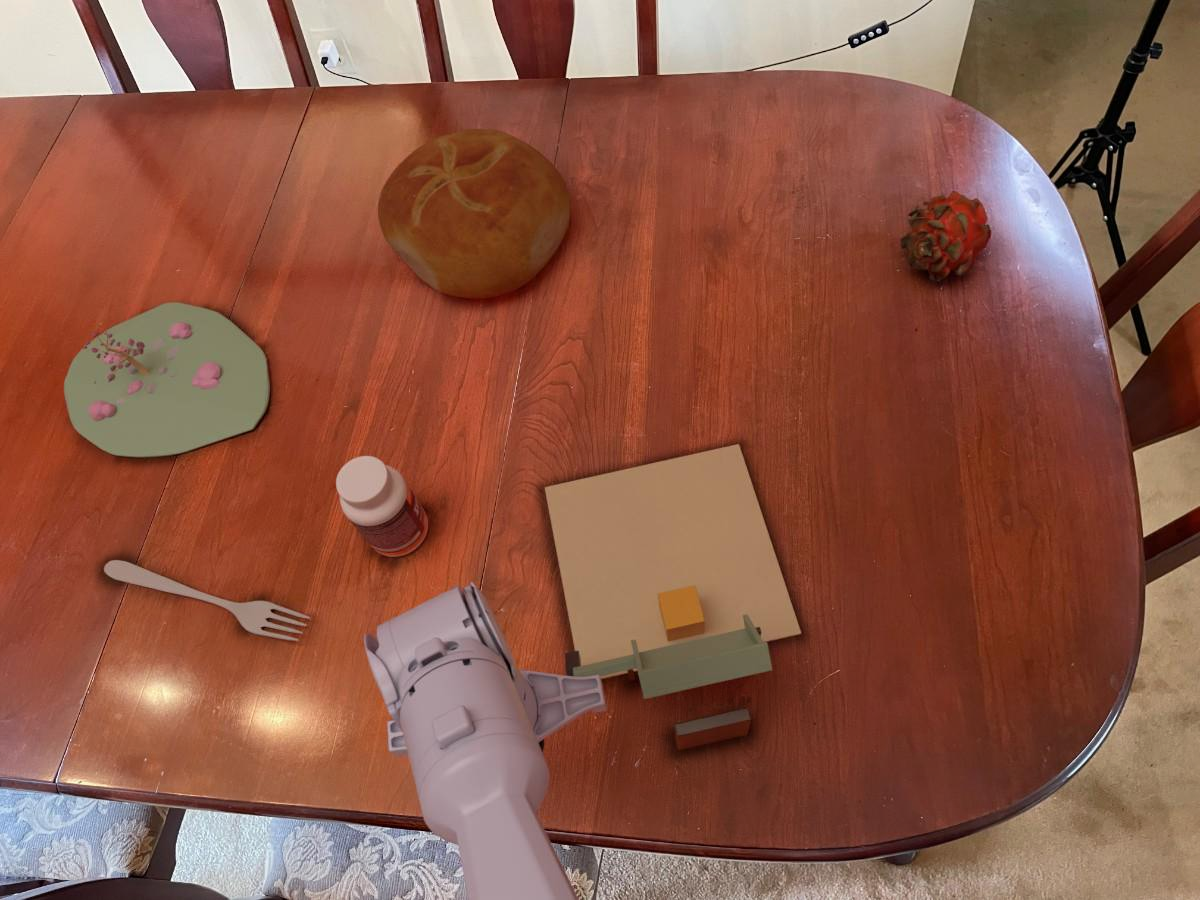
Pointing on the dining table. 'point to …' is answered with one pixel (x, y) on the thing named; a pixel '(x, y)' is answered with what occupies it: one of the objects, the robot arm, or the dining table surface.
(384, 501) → the pill bottle
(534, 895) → the robot arm
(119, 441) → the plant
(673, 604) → the block
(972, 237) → the dragon fruit
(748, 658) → the tray
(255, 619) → the fork
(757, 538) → the mat
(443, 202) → the bread
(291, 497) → the dining table surface
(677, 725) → the stand
